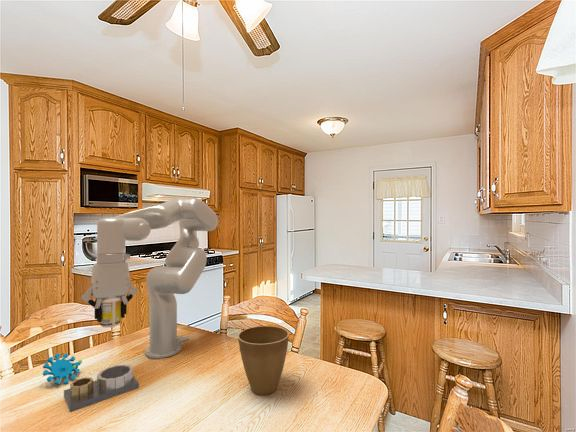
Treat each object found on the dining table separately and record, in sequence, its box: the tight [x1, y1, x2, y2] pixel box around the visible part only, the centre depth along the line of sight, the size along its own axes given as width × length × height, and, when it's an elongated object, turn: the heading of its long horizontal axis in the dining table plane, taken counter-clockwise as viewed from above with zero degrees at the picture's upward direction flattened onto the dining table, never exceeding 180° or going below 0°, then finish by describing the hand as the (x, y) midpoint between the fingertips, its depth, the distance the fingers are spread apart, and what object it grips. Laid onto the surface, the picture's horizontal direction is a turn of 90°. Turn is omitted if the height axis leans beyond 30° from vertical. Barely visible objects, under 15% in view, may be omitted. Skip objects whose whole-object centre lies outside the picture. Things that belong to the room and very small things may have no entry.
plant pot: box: [237, 325, 290, 396], centre depth 94 cm, size 15×15×16 cm
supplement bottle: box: [99, 296, 122, 328], centre depth 97 cm, size 6×6×10 cm
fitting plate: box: [63, 364, 140, 413], centre depth 92 cm, size 17×10×4 cm, turn 132°
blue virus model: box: [42, 352, 83, 386], centre depth 100 cm, size 11×6×10 cm
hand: (110, 318), depth 97 cm, fingers closed on supplement bottle, 5 cm apart
